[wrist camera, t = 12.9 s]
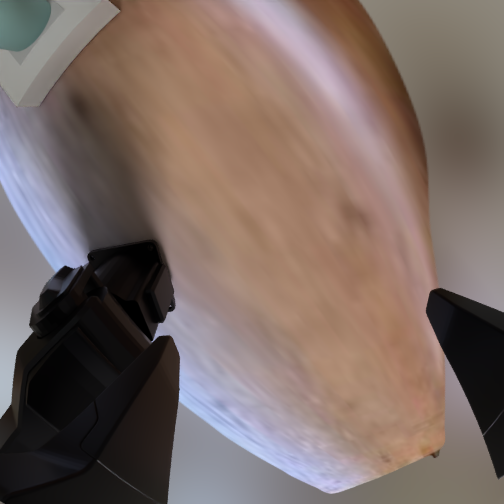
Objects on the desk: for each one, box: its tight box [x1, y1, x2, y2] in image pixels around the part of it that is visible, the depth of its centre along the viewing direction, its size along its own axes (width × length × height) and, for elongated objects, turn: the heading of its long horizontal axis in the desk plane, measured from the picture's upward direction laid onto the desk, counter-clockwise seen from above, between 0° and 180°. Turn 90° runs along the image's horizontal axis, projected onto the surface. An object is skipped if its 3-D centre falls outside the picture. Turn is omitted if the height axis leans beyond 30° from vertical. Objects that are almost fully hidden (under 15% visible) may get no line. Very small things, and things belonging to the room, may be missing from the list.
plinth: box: [0, 0, 120, 107], centre depth 11 cm, size 10×10×3 cm
